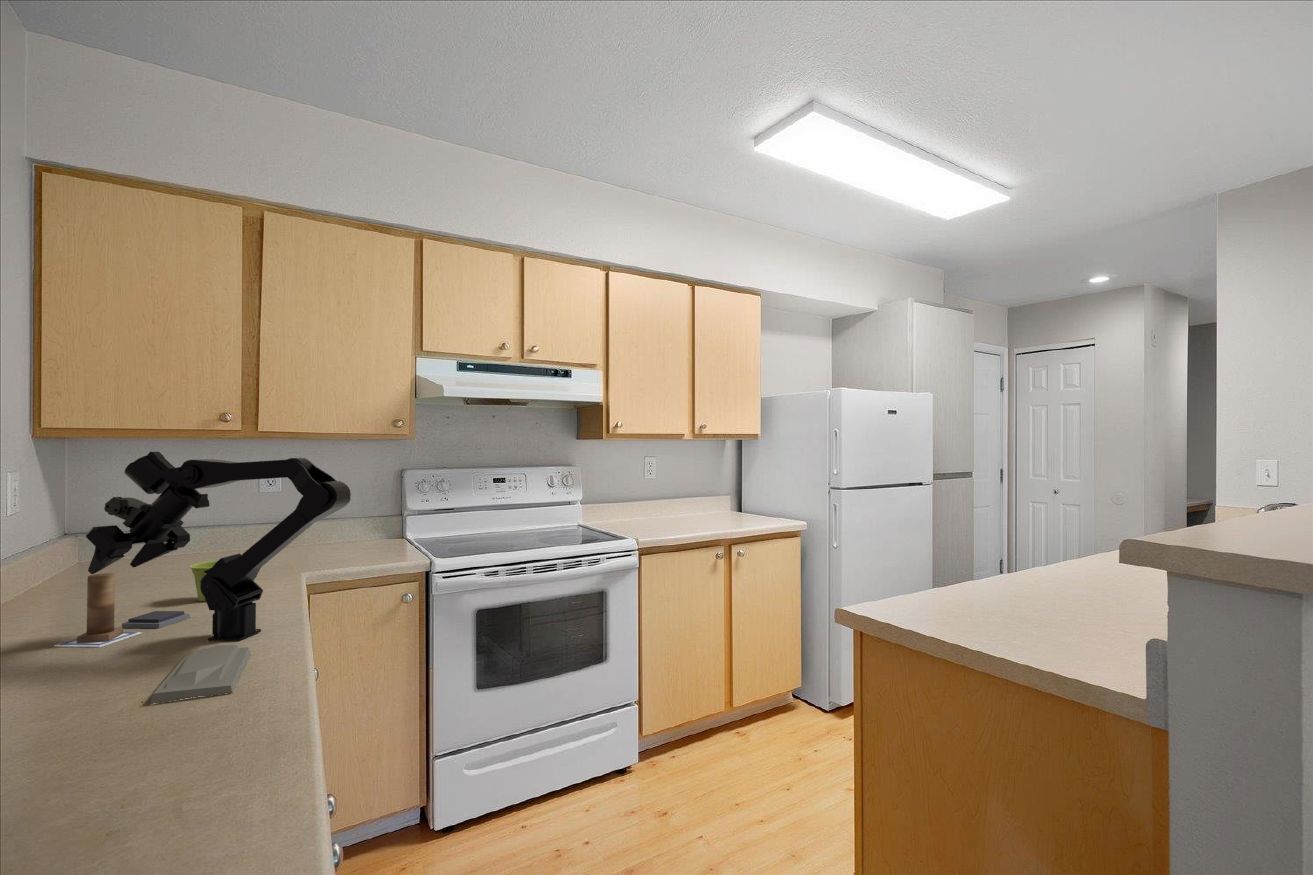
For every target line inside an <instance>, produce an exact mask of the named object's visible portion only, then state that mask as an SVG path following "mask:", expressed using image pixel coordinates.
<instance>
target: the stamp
mask: <svg viewBox="0 0 1313 875" xmlns="http://www.w3.org/2000/svg"><path fill="white" fill-rule="evenodd" d="M86 580H87V584H86V585H87V588H86V589H87V591H86V632H84V633H82V634H80V635H78V636H76V639H77V643H92V642H106V641H109V640H112V639H114V638H116V637H118V636H120V635H122V634H123V632H124V628H123V627H122V626H121V627H115V599H116V596H115V594H116V573H114V572H110V573H109V572H108V573H107V572H105V573H94V574H90V575H88V576H87V579H86Z"/></svg>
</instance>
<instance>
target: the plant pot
mask: <svg viewBox="0 0 1313 875" xmlns="http://www.w3.org/2000/svg"><path fill="white" fill-rule="evenodd" d="M217 561H218V560H217ZM217 561H208V562H207V561H206V562H199V563H195V564H192V565H190V566H189V568H190V569H191V571H192V574H193V577H194V582H195V588H196V593H197V600H198V601H199V602H206V600H205V597H204V596H203V594H202V592H201V588H200V585H201V583H200V581H201V579H202V578H203V576H204V575H206V573H204V571H206V570H209V569H210V568H212V567H213V566H214V565H215V563H216V562H217ZM206 603H207V602H206Z"/></svg>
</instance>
